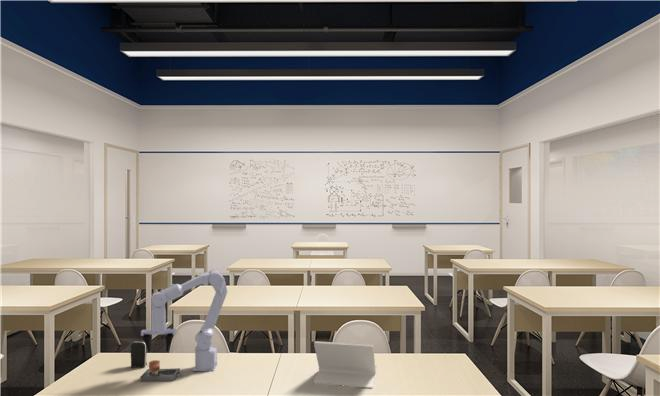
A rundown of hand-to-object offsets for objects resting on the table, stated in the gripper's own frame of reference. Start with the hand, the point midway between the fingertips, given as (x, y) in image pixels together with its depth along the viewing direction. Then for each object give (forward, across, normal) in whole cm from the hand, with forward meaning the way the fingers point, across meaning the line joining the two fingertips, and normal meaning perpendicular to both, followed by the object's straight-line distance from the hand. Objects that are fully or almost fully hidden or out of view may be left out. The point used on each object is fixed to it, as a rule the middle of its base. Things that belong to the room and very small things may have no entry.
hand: (158, 351), depth 182 cm
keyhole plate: (+10, +2, -3) cm, 11 cm away
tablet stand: (+11, +81, -8) cm, 83 cm away
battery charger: (+10, -12, +11) cm, 19 cm away
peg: (+10, -1, -2) cm, 11 cm away
